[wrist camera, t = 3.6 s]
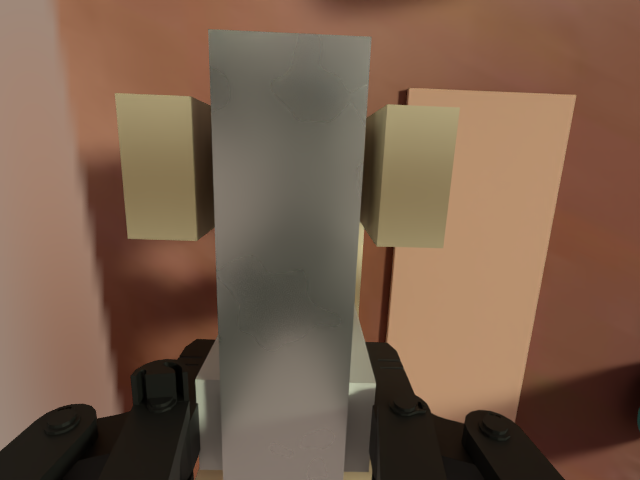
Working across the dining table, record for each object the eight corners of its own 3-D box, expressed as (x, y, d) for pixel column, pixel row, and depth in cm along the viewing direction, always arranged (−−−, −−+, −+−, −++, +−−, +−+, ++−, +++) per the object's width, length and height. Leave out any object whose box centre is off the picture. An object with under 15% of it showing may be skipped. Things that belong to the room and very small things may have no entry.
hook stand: (240, 121, 20) (112, 66, 7) (368, 126, 20) (462, 81, 7) (243, 393, 24) (165, 668, 11) (350, 396, 24) (393, 667, 11)
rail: (240, 66, 10) (208, 29, 7) (353, 71, 10) (371, 36, 7) (247, 578, 14) (230, 692, 11) (326, 579, 14) (329, 692, 11)
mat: (407, 89, 20) (409, 88, 19) (570, 96, 20) (576, 94, 19) (378, 422, 24) (379, 426, 24) (510, 424, 25) (513, 429, 24)
